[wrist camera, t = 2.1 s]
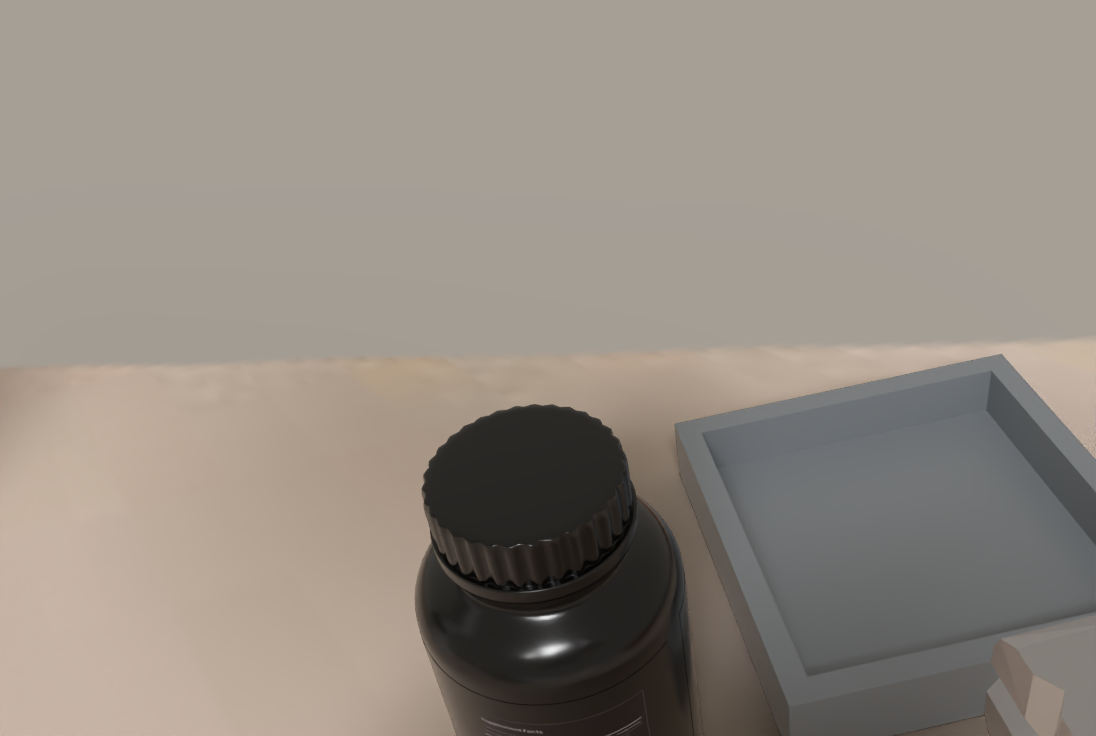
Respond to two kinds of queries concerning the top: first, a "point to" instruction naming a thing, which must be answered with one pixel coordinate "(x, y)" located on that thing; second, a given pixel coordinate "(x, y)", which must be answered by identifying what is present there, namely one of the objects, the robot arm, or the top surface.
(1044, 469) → the tray
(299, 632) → the top surface
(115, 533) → the top surface
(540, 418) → the supplement bottle
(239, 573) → the top surface
